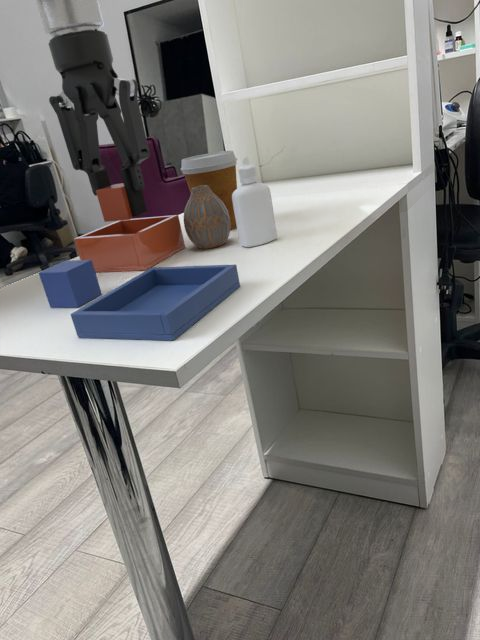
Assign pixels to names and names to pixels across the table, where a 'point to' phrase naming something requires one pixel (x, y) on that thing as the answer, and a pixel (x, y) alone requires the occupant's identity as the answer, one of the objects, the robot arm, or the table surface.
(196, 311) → the blue tray
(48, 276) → the blue block
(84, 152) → the robot arm
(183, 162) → the disposable coffee cup
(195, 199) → the vase
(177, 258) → the table surface
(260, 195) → the eye dropper bottle
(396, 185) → the table surface
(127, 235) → the terracotta bin
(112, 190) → the rust block
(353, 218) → the table surface
